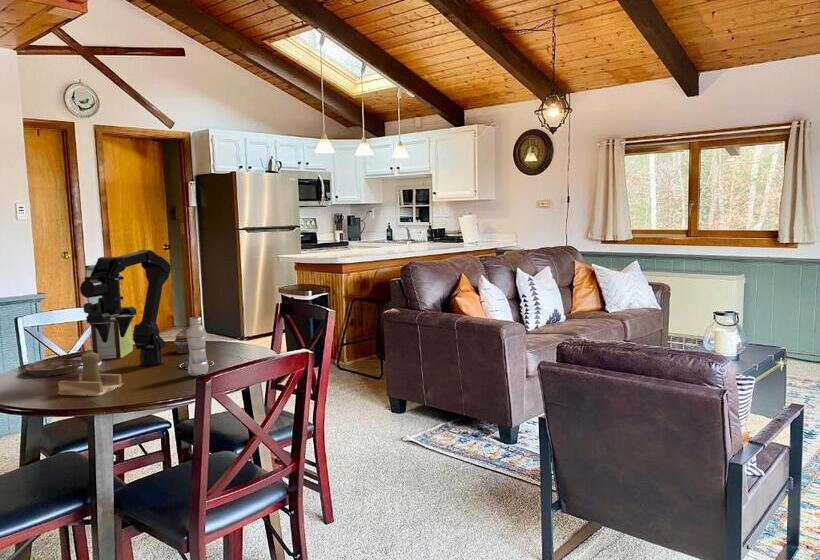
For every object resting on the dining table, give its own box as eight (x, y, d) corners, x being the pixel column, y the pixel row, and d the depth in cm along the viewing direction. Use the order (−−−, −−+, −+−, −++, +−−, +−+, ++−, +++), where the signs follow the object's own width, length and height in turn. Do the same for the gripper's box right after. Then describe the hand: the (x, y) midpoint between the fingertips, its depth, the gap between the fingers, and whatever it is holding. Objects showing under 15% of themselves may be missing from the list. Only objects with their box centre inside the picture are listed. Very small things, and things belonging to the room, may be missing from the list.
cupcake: (181, 349, 254) (180, 325, 252) (203, 349, 252) (202, 325, 251) (170, 354, 244) (168, 329, 243) (193, 354, 243) (191, 329, 242)
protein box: (133, 350, 253) (130, 313, 251) (121, 358, 238) (118, 319, 236) (106, 351, 251) (104, 314, 250) (92, 360, 236) (89, 320, 235)
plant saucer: (29, 369, 224) (28, 361, 223) (84, 364, 231) (83, 356, 231) (21, 381, 208) (20, 372, 207) (80, 374, 215) (80, 366, 215)
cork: (85, 390, 190) (82, 356, 189) (78, 387, 194) (75, 353, 193) (105, 386, 194) (103, 352, 193) (98, 383, 198) (95, 350, 197)
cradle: (84, 384, 201) (83, 372, 201) (123, 385, 199) (122, 373, 198) (57, 394, 189) (56, 382, 189) (98, 395, 187) (97, 383, 187)
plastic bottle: (212, 373, 211) (209, 316, 209) (200, 378, 205) (196, 319, 203) (197, 372, 214) (194, 315, 212) (184, 377, 207) (180, 319, 205)
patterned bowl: (219, 362, 229) (219, 348, 229) (205, 370, 218) (205, 356, 217) (189, 362, 231) (188, 348, 230) (173, 370, 219) (172, 355, 218)
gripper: (107, 290, 217) (110, 334, 218) (69, 297, 198) (73, 345, 200) (135, 290, 215) (138, 334, 217) (101, 297, 197) (104, 345, 198)
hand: (113, 339), depth 208 cm, fingers open, 9 cm apart
